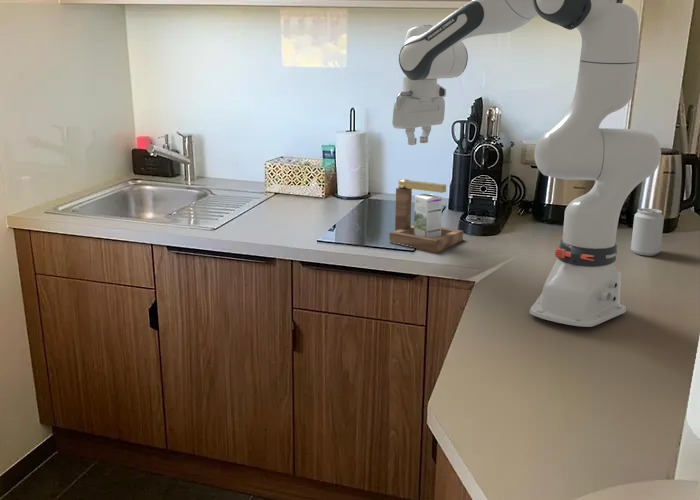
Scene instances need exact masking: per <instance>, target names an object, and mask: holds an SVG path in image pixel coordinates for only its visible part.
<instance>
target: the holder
mask: <svg viewBox="0 0 700 500" xmlns="http://www.w3.org/2000/svg"><path fill="white" fill-rule="evenodd" d="M412 190H413V189H409V188H399V187H397V188H395V217H394V218H395V219H394V220H395V223H394V226H395V227H394V229H395V230H393V231H391V232H390V231H389V238H388V239H389V241H391V242H395V243H400V244H404V245H408V246H412V247H416V249H415V250H419V251H423V252H429V253H431V254H437V253H439V252H441V251H444V250H446V249H447V248H449V247H451V246H453V245H456V244H457V243H459V242H461V241H463V240H464V230H460V229H454V228H448V227H442V226H441V236H439V237H436V238H429V237H423V236H417V235H414V224H412V193H413V192H412Z"/></svg>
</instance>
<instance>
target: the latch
mask: <svg viewBox="0 0 700 500" xmlns="http://www.w3.org/2000/svg"><path fill="white" fill-rule="evenodd" d="M397 184H398V187H397V188H409V189H412V190H418V191H424V192H425V191H426V192H433V193H442V194H443V193H446V192H447V184H445V183H444V184H443V183H437V182H427V181H421V180H420V181H418V180H411V179H407V178H406V179H405V178H404V179H398V183H397Z"/></svg>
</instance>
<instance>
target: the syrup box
mask: <svg viewBox="0 0 700 500" xmlns="http://www.w3.org/2000/svg"><path fill="white" fill-rule="evenodd" d="M413 205H414V212H413V214H414V215H413V218H414V219H413V225H414V235H417V236H423V237H429V238H436V237H439V236H441V227H442V214H443V213H442V212H443V196H440V195H438V194H437V195H436V194H431V193H421V194H417V195H414V204H413Z"/></svg>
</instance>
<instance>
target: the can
mask: <svg viewBox="0 0 700 500" xmlns="http://www.w3.org/2000/svg"><path fill="white" fill-rule="evenodd" d="M662 213H663V211H662V210H661V209H656V208H648V207H647V208H645V207H644V208H642V207H641V208H638V209H637V212H636V213H635V214H634V217H633V224H632V234H631V235H632V236H631V244H630V249H631V251H632V252H633V253H634V254H637V255H640V256H649V257H652V256H656V255H657V254H659V253H661V247H662V239H663V238H662V237H663V232H664V231H663V229H664V221H665V216H664V215H663V214H662Z"/></svg>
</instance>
